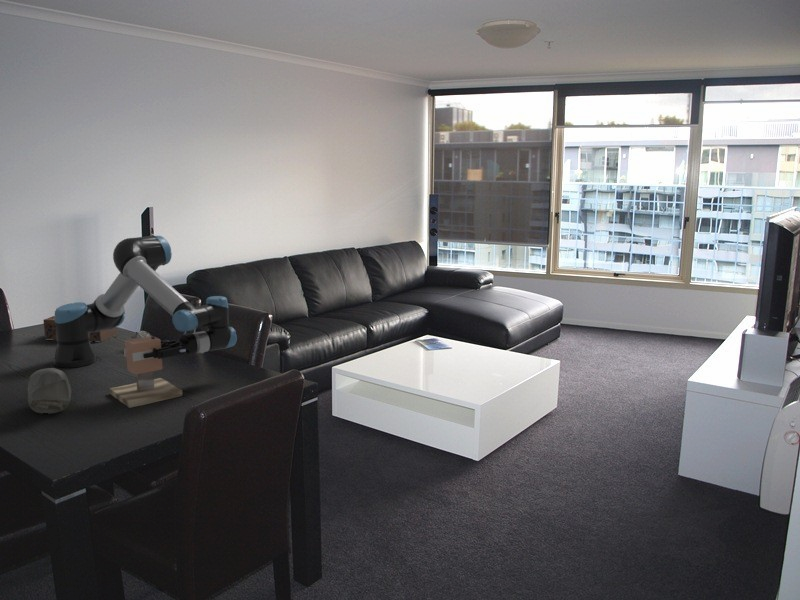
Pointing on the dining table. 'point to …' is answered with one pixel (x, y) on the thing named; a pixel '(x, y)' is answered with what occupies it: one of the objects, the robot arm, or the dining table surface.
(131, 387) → the base
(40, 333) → the dining table surface
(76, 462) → the dining table surface
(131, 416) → the dining table surface
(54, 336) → the tissue box cover
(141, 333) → the game die
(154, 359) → the notched tan block
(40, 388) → the decorative stone
